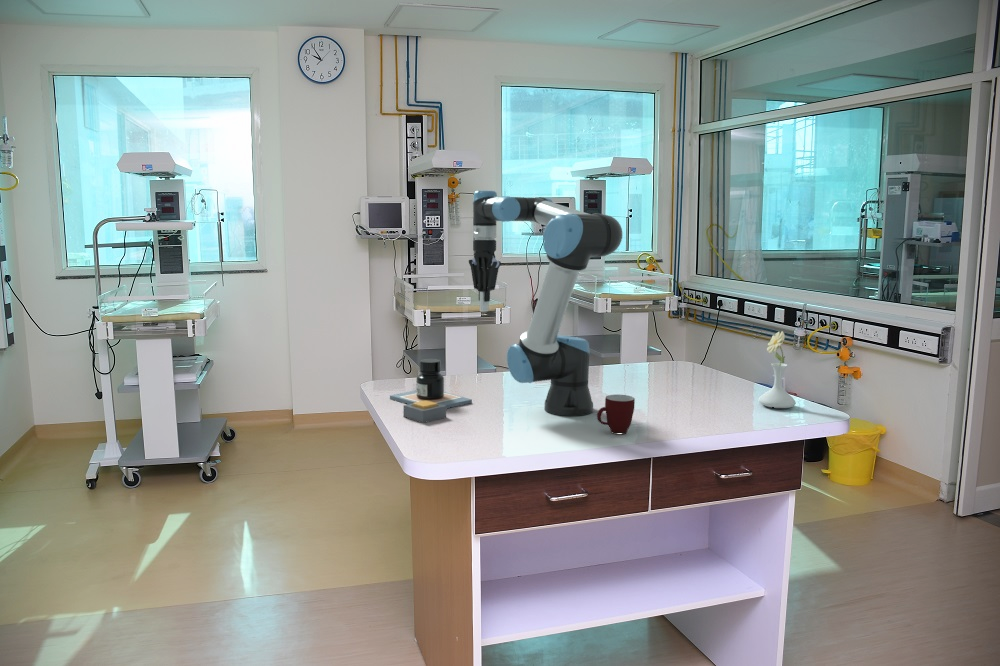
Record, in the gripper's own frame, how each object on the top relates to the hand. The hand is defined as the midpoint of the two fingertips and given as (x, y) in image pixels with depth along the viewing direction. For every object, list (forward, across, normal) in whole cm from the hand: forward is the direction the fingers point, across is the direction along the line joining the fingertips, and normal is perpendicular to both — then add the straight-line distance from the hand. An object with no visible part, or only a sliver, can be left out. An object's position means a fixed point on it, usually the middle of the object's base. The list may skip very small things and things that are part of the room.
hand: (484, 311), depth 252 cm
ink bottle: (+27, -6, -18) cm, 33 cm away
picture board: (+28, -6, -18) cm, 34 cm away
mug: (+29, +57, -4) cm, 64 cm away
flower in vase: (+29, +75, +58) cm, 99 cm away
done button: (+28, +8, -32) cm, 43 cm away
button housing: (+28, +8, -32) cm, 44 cm away
